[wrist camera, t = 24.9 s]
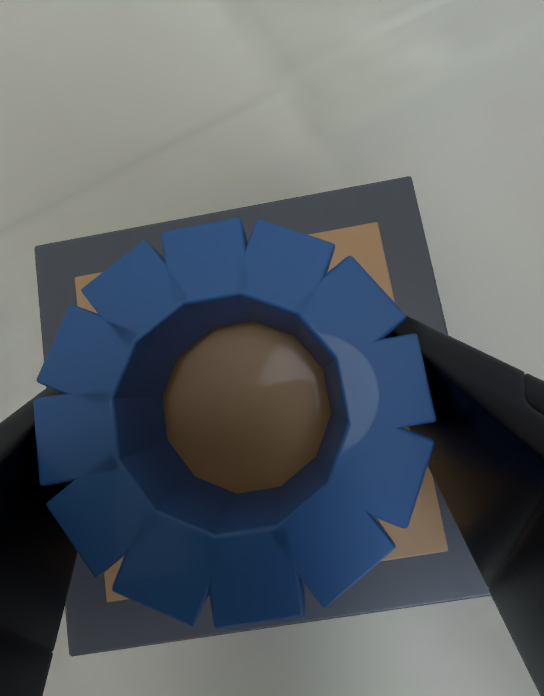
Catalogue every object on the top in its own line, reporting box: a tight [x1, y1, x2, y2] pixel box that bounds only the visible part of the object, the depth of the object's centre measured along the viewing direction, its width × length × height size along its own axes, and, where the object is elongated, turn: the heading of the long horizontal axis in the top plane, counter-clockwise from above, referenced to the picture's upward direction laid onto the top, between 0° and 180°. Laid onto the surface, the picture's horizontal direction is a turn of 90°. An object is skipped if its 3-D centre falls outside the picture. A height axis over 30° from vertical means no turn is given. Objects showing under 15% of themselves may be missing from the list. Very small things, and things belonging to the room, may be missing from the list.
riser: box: [35, 177, 491, 656], centre depth 12 cm, size 11×11×5 cm
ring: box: [33, 218, 436, 629], centre depth 7 cm, size 7×7×2 cm
